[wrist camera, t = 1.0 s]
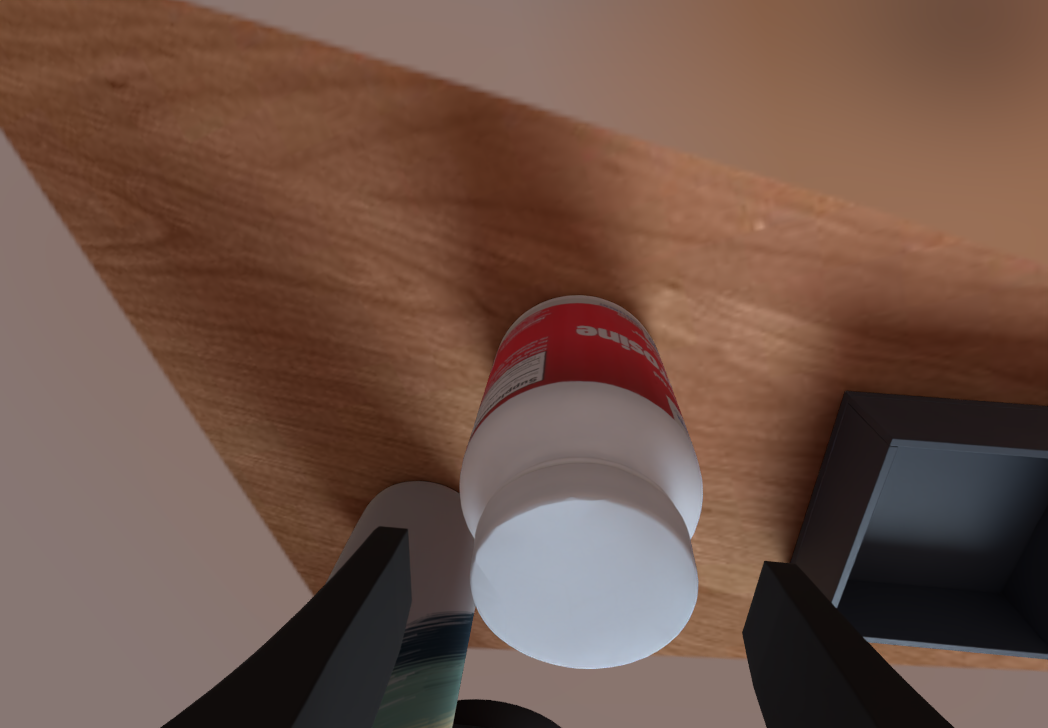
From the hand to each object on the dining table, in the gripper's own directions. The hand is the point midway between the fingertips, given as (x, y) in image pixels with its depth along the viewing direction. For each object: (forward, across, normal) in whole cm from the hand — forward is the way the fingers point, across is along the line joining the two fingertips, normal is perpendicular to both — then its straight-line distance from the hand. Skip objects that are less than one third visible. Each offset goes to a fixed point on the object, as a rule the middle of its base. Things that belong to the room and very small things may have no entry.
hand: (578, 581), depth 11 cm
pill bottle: (+11, 0, 0) cm, 11 cm away
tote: (+11, -15, +5) cm, 19 cm away
